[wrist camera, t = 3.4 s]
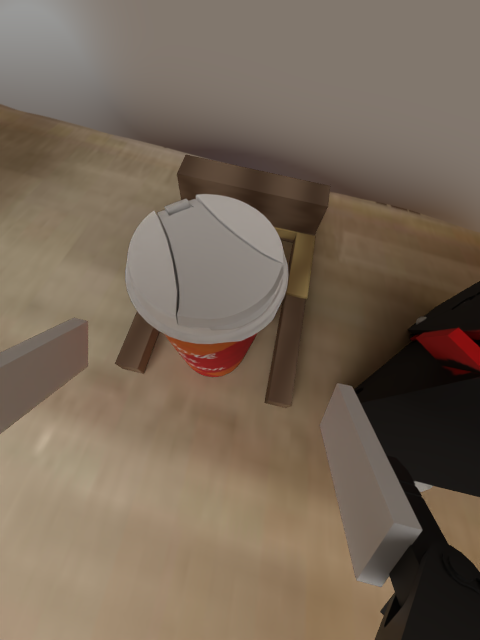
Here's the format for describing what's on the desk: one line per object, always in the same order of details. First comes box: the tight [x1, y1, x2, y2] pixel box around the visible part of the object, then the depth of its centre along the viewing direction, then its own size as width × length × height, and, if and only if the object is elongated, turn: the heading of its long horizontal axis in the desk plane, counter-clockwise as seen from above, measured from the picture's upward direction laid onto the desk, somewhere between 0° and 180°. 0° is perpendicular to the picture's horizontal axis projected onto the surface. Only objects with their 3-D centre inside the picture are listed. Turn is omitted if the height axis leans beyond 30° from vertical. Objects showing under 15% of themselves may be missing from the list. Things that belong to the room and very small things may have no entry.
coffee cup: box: [125, 194, 288, 377], centre depth 19 cm, size 8×8×15 cm
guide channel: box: [115, 155, 330, 408], centre depth 26 cm, size 16×22×6 cm
